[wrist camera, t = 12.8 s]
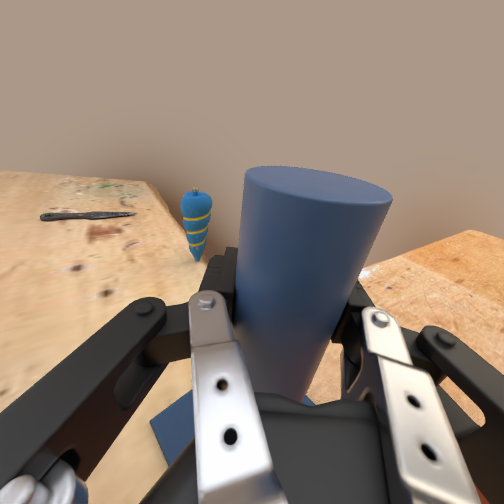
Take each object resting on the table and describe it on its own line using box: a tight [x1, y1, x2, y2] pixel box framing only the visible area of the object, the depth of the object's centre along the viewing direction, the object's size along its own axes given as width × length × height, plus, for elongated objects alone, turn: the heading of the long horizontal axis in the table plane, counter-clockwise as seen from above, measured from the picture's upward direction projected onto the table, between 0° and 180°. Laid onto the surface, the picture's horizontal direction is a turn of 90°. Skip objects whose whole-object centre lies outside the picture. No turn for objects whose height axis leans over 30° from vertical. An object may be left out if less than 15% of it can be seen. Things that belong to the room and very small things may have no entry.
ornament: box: [181, 187, 212, 261], centre depth 39 cm, size 5×5×15 cm
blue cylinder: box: [231, 166, 393, 403], centre depth 10 cm, size 4×4×12 cm
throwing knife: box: [40, 212, 137, 221], centre depth 54 cm, size 4×20×1 cm, turn 113°
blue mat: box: [150, 389, 315, 467], centre depth 21 cm, size 10×13×1 cm
